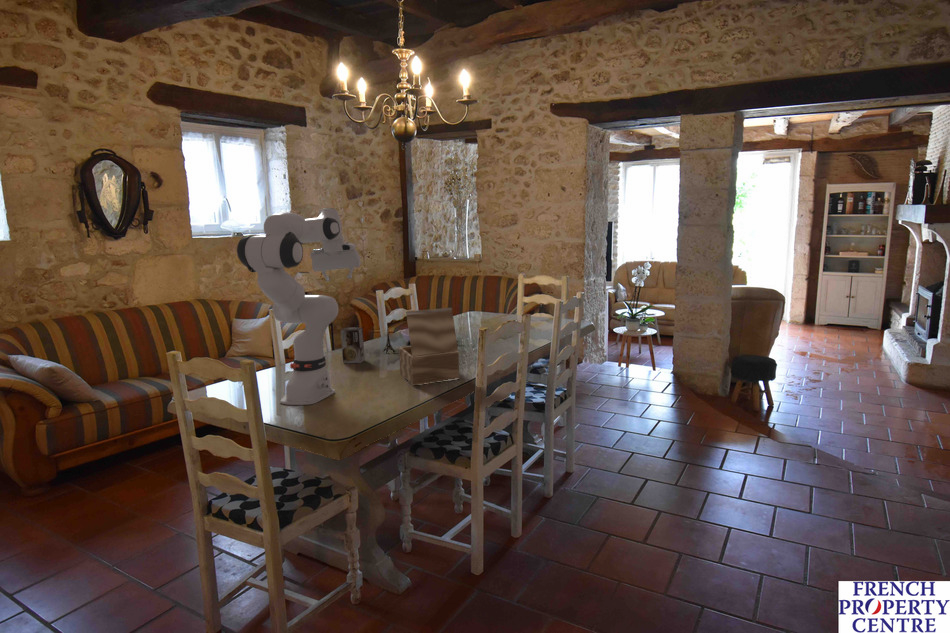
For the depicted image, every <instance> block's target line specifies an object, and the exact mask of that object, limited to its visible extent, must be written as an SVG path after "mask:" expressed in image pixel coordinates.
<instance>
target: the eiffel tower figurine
mask: <svg viewBox="0 0 950 633" xmlns="http://www.w3.org/2000/svg"><path fill="white" fill-rule="evenodd" d="M386 331H387V332H386V337H387V338H386V345H385V346H384V348H383V350H382V353H384V351H386V353H387V352H388V350H393V353H396V351H395V349H394V348H393V346H392V344H391V341H390V335H389V329H388V328H387V330H386ZM373 354H376V355H377V353H376V352H373Z"/></svg>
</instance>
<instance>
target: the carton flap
mask: <svg viewBox="0 0 950 633" xmlns="http://www.w3.org/2000/svg"><path fill="white" fill-rule="evenodd" d="M405 314H406V321H407V322H406V323H407V327H408V328H407V329H409V336H410V341H409V343H410V346H411V351H412V356H418V355H427V354H435V353H443V352H452V351H458V352H459V349H458V347H459V346H458V341H457V335H456V328H455V320H454V314H453V308H452V307H442V308H431V309H430V308H429V309H420V310H419V309H418V310H409V311H406V312H405Z"/></svg>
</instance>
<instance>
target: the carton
mask: <svg viewBox="0 0 950 633" xmlns="http://www.w3.org/2000/svg"><path fill="white" fill-rule="evenodd" d="M398 355H399V357H398V358H399V374H400V376H401V377H402V378H404V379H405V378H406V379H407V380H408V381H409V382H410V383H411V384H412V385H418V384H424V383H430V382H437V381H443V380H448V379H455V378H459V379H460V363H459V362H460V360H459V359H460V357H459V355H460V354H459V350H458V351H452V352H443V353H435V354H427V355H418V356H412V351H411V345H409V346H400V347H398ZM406 379H405V380H406ZM407 380H406V381H407ZM408 381H407V382H408ZM409 382H408V383H409ZM410 383H409V384H410ZM411 384H410V385H411ZM412 385H411V386H412Z"/></svg>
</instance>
